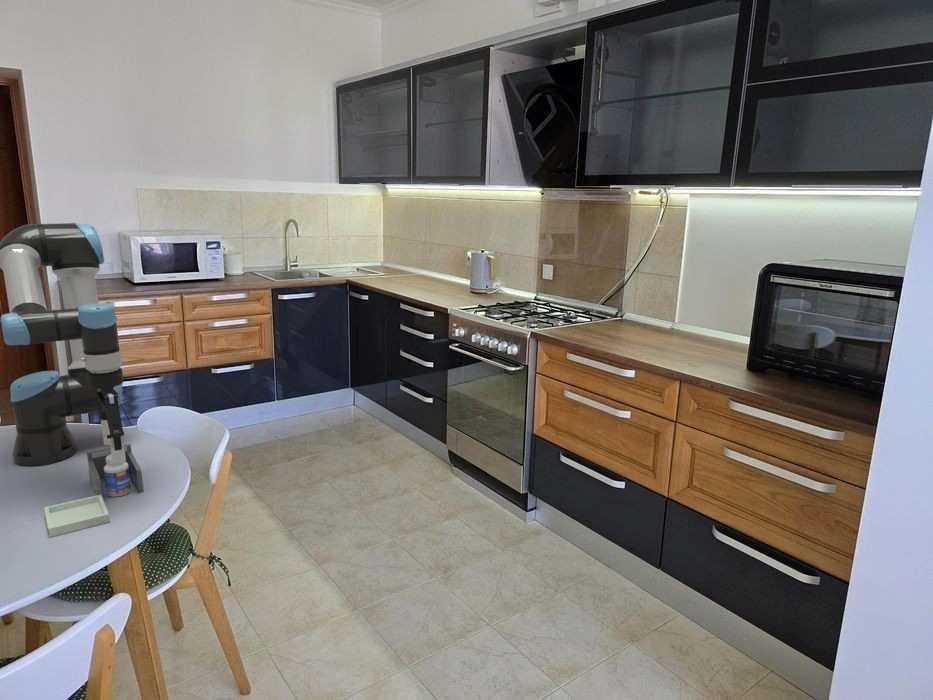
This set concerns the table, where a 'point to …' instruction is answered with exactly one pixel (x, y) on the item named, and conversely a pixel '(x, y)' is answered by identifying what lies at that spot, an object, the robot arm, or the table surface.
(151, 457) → the table surface
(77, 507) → the tray
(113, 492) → the pill bottle
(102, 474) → the bay
